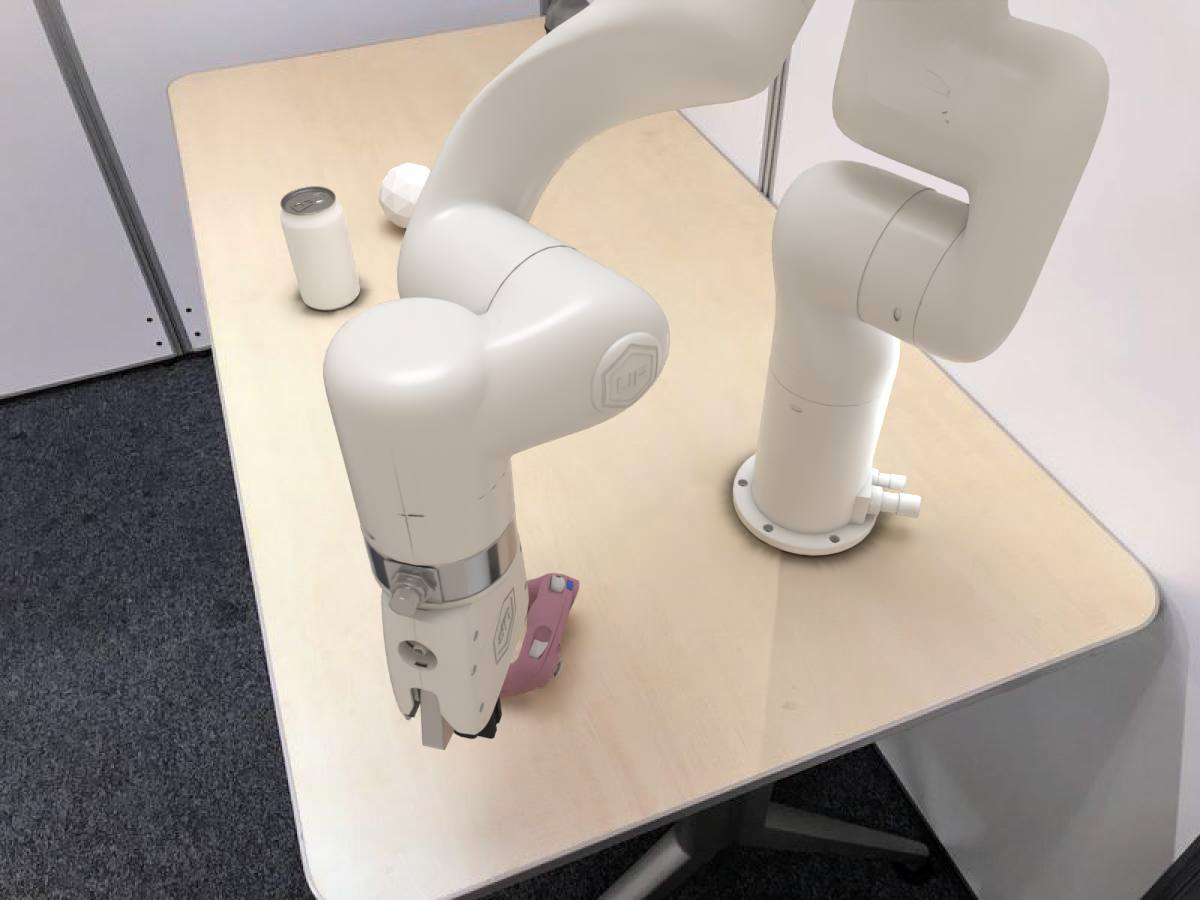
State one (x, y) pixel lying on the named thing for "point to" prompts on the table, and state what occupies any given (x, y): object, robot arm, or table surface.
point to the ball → (402, 192)
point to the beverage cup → (562, 12)
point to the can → (319, 248)
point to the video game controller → (542, 634)
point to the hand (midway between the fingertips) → (474, 723)
